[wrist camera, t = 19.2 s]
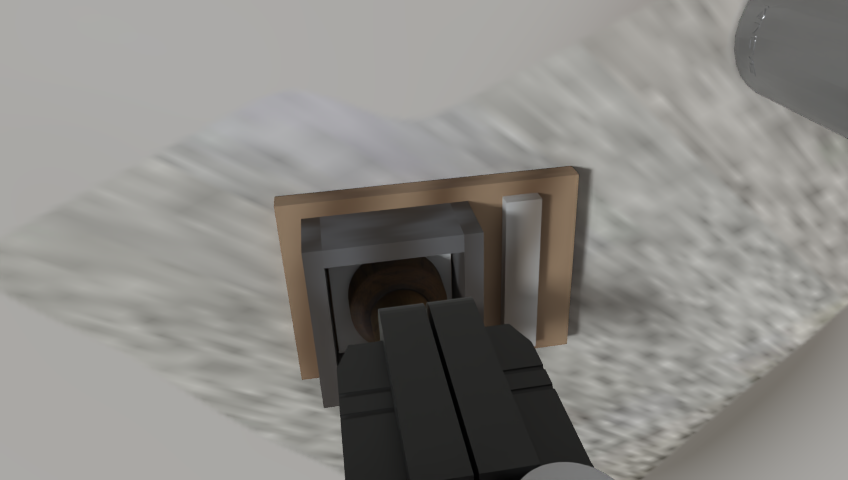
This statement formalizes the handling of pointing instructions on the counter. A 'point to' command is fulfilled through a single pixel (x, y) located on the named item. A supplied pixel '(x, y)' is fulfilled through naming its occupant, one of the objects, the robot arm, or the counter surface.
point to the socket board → (431, 254)
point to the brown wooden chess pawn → (391, 290)
